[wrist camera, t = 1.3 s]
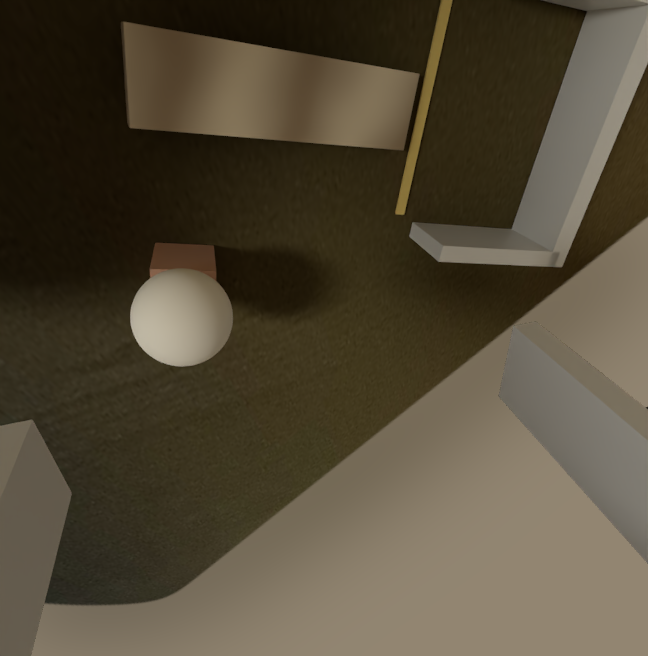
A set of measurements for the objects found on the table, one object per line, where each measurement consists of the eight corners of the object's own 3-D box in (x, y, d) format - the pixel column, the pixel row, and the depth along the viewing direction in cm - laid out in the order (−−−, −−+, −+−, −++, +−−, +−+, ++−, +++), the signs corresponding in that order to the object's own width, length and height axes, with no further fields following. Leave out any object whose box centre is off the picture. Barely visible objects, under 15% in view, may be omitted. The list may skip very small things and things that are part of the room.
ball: (138, 334, 26) (128, 388, 22) (132, 251, 24) (119, 293, 19) (228, 334, 27) (234, 384, 23) (231, 255, 25) (238, 296, 21)
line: (394, 213, 30) (395, 214, 30) (443, -11, 24) (444, -11, 24) (403, 214, 30) (404, 214, 30) (453, -9, 24) (454, -9, 24)
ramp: (134, 116, 24) (124, 127, 20) (129, 25, 22) (116, 20, 18) (396, 147, 28) (425, 160, 24) (411, 73, 26) (445, 76, 22)
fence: (409, 236, 31) (438, 261, 27) (474, -41, 24) (526, -58, 20) (520, 243, 33) (561, 267, 30) (611, -6, 26) (680, -16, 22)
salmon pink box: (157, 293, 29) (152, 325, 25) (155, 242, 27) (149, 269, 24) (212, 295, 30) (215, 325, 26) (213, 245, 28) (216, 271, 25)
